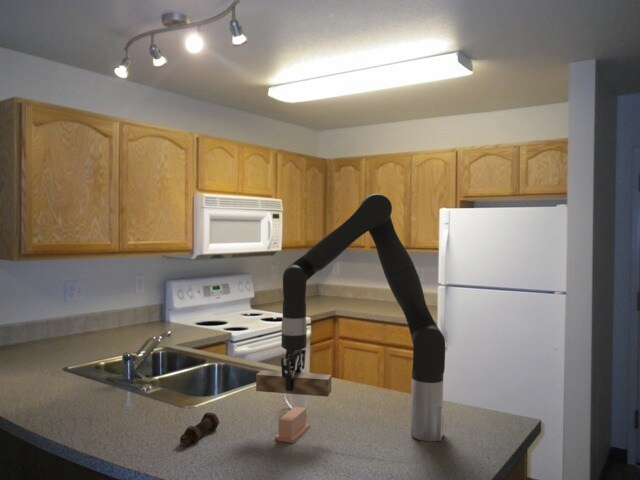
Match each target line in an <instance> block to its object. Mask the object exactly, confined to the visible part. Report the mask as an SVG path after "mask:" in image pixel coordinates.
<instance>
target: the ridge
mask: <svg viewBox="0 0 640 480" xmlns="http://www.w3.org/2000/svg"><path fill="white" fill-rule="evenodd" d="M310 427H311V424H310V423H307V407H305V408H302V407H295V406H294V407H293V408H292V409H291V408H290V409H289V410H288V411H287V412H286V413H285V414H283V415H282V416H281V417H280V418H279V419H278V433H277V434H276V435H275V436H274V441H278V442H285V443H291V444H294V443H296V442H297V440H298V439H299V438H301V436H303V435H304V434H305V433H306V432H307V431H308V429H310Z"/></svg>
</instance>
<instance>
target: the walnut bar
mask: <svg viewBox="0 0 640 480" xmlns="http://www.w3.org/2000/svg"><path fill="white" fill-rule="evenodd" d="M255 378H256V379H255V391H256V392H262V393H265V392H266V393H274V394H284V393H286V395H289V394H300V395H308V396H316V397H326V398H327V397H329V396H330V394H331V393H332V374H323V373H322V374H321V373H309V372H308V373H307V372H302V373H295V372H294V383H293V391H286V378H283V377H282V371H279V370H265V369H264V370H260V371H259V372H258V373H256V375H255Z"/></svg>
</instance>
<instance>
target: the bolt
mask: <svg viewBox="0 0 640 480" xmlns="http://www.w3.org/2000/svg"><path fill="white" fill-rule="evenodd" d="M218 417H219V416H217V414H216V413H214V412H206V413H204V415H203V416H202V418H201V420H200V422H198V423H197V424H196V425H189V426H188V427H187V428H186V429H185V431H184V433H183V434H182V435H181V436H180V438H179V443H180V445H182V446H185V447H187V446H189V445H190V444H196V443H198V442H199V440H200V439H201V436H203V434H204V433H206V432H207V431H211V432H212V431H215V430H216V429H218V426H219V424H220V420H219V418H218Z"/></svg>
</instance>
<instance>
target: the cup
mask: <svg viewBox="0 0 640 480" xmlns="http://www.w3.org/2000/svg"><path fill="white" fill-rule="evenodd" d="M288 395H289V399H290V400H289V401H290V402H289V401H288V399H287V393H283V399H284V401H285V404H286V405H287V406H288V407H289V409H290V410H291V409H292V408H293V407H294V406H295V407H302V408H307V403H308V399H309V398H308V397H309V395H300V394H288Z"/></svg>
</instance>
